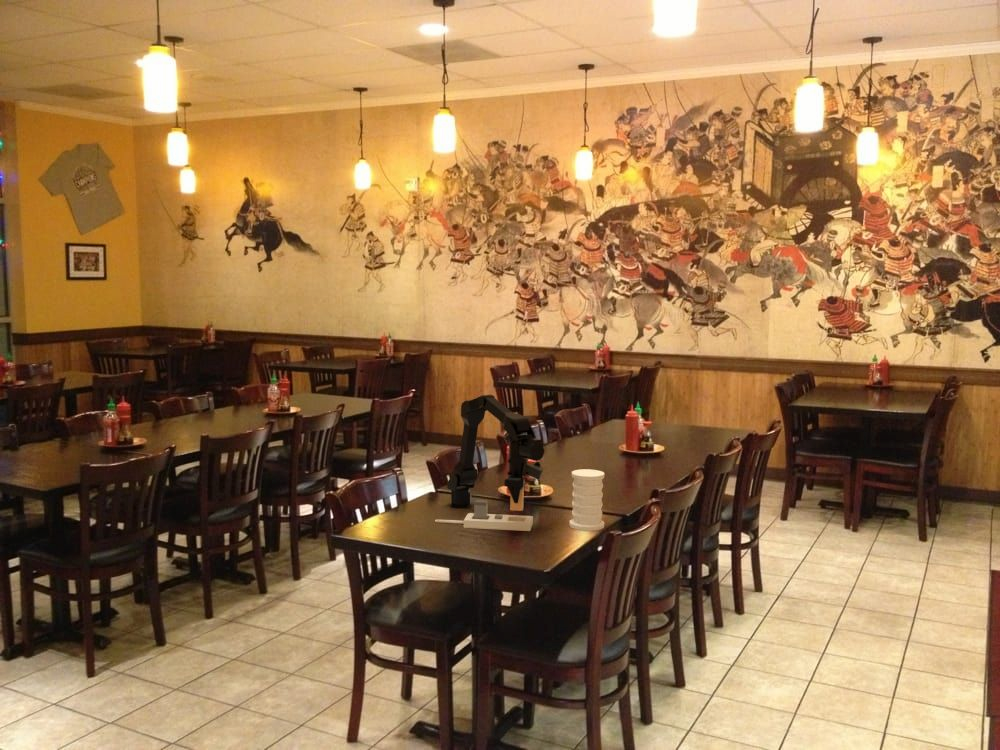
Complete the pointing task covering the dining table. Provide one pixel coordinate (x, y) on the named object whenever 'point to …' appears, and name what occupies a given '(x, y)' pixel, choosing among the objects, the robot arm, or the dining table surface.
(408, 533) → the dining table surface
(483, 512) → the twin plug
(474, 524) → the power strip
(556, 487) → the dining table surface
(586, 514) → the decorative container
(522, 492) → the plug
